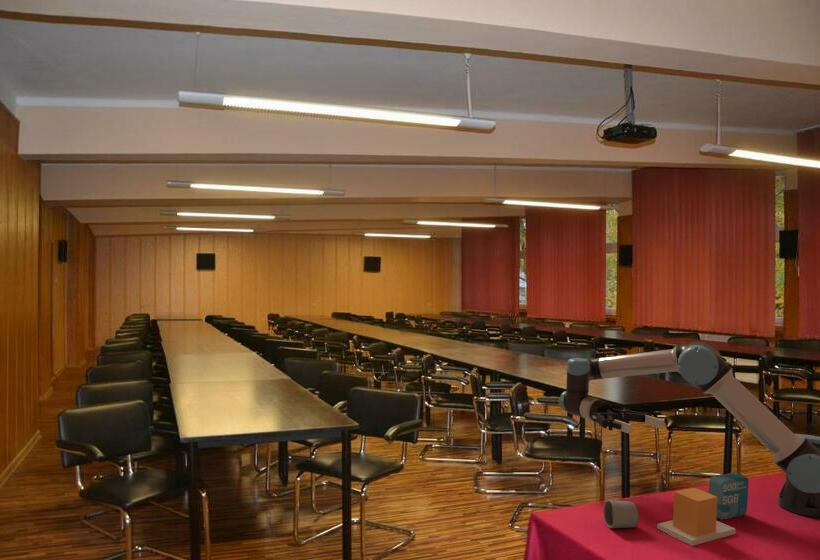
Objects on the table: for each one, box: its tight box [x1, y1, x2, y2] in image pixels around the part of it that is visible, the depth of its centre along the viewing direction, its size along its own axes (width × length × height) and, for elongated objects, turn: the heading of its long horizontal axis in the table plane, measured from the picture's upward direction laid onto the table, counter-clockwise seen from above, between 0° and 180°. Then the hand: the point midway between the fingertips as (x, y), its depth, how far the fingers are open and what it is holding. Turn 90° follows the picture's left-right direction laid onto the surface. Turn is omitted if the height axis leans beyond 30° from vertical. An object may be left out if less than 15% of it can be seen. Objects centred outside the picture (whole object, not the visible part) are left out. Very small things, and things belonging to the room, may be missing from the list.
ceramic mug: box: [603, 499, 640, 529], centre depth 199 cm, size 11×8×8 cm
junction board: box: [656, 519, 736, 547], centre depth 195 cm, size 18×12×8 cm, turn 119°
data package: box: [708, 472, 750, 521], centre depth 208 cm, size 12×4×12 cm, turn 115°
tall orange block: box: [672, 487, 718, 537], centre depth 193 cm, size 8×8×10 cm
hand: (646, 427), depth 209 cm, fingers open, 13 cm apart
